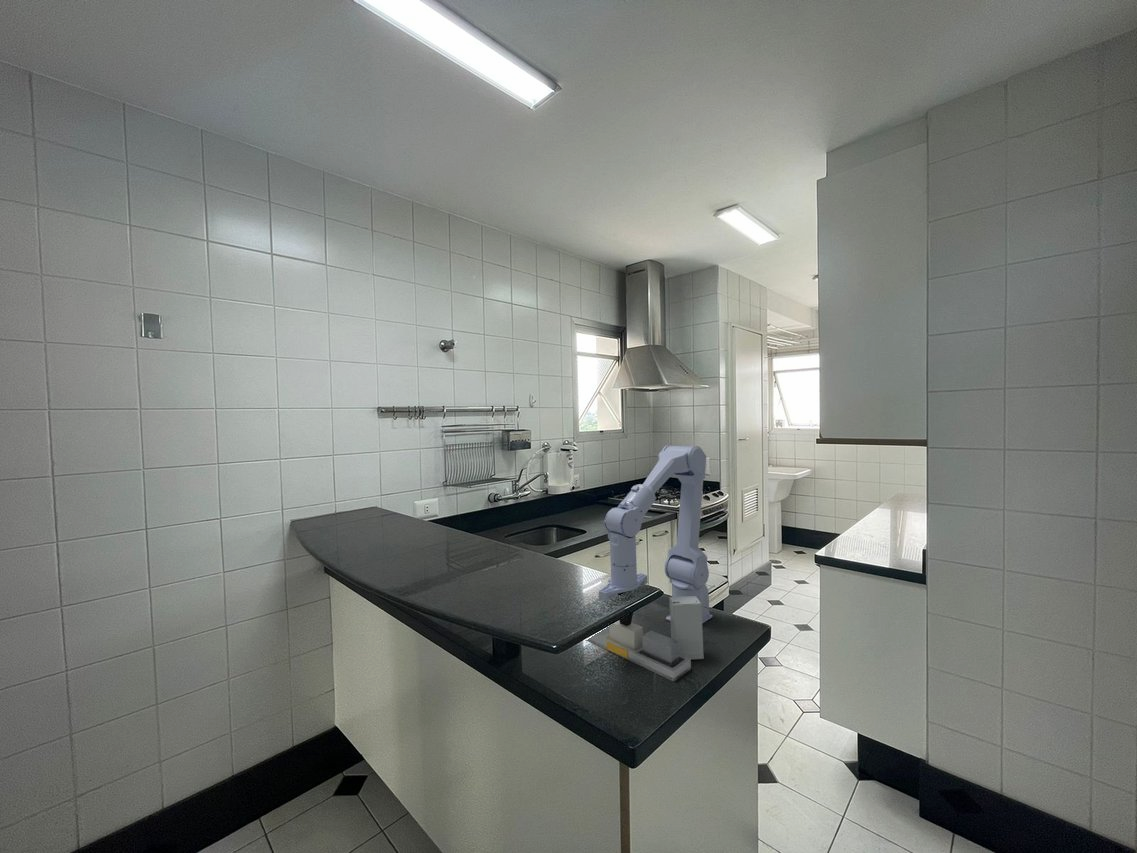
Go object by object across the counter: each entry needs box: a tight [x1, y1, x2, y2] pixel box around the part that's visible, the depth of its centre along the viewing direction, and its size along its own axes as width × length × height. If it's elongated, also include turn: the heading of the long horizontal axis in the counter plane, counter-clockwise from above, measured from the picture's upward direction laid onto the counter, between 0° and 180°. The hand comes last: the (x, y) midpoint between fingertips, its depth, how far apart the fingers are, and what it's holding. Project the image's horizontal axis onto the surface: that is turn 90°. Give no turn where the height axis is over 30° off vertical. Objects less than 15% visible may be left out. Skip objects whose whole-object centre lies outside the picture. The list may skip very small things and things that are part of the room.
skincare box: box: [669, 596, 705, 660], centre depth 93 cm, size 6×4×12 cm
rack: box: [586, 626, 692, 682], centre depth 97 cm, size 6×29×6 cm, turn 43°
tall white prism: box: [610, 621, 644, 651], centre depth 97 cm, size 3×7×5 cm, turn 43°
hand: (625, 623), depth 97 cm, fingers closed
